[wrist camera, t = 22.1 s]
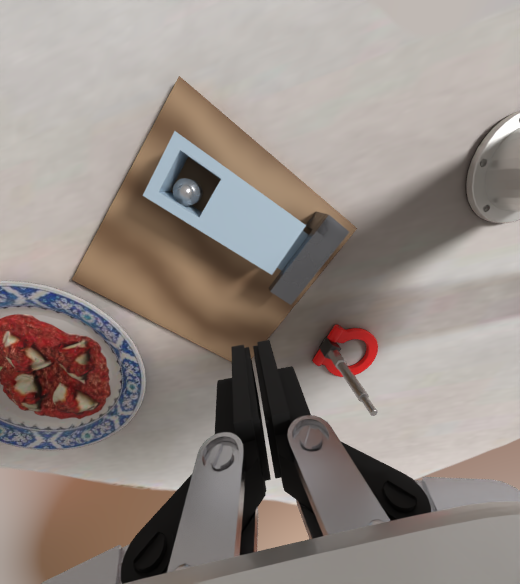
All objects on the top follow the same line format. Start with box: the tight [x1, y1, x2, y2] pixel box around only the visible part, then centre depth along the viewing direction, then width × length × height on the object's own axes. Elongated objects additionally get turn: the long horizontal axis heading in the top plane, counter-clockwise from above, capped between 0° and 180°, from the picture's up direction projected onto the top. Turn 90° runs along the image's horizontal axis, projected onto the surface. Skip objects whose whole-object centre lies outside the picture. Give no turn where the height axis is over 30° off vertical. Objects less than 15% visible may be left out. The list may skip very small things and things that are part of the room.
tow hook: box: [312, 324, 378, 416], centre depth 34 cm, size 8×13×9 cm
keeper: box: [269, 211, 349, 305], centre depth 30 cm, size 10×3×4 cm, turn 144°
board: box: [72, 76, 357, 362], centre depth 31 cm, size 24×24×1 cm
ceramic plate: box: [0, 281, 146, 450], centre depth 33 cm, size 26×26×3 cm
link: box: [143, 131, 308, 275], centre depth 27 cm, size 18×6×5 cm, turn 56°
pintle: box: [173, 178, 203, 206], centre depth 26 cm, size 2×2×5 cm
